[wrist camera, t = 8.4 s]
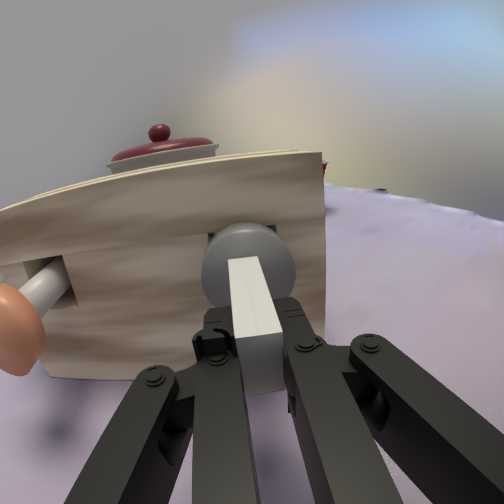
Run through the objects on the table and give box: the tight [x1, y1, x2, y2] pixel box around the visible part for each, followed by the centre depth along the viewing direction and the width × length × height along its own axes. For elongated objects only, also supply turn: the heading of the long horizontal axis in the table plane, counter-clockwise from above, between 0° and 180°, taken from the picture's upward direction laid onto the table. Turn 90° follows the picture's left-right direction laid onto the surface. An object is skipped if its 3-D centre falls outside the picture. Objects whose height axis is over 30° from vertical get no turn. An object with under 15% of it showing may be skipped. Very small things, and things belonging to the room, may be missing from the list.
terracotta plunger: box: [0, 255, 71, 376], centre depth 16 cm, size 12×5×5 cm, turn 5°
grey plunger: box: [201, 222, 296, 307], centre depth 21 cm, size 12×5×5 cm, turn 5°
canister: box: [106, 124, 219, 175], centre depth 45 cm, size 18×18×21 cm
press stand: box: [0, 150, 326, 380], centre depth 22 cm, size 10×24×15 cm, turn 95°
